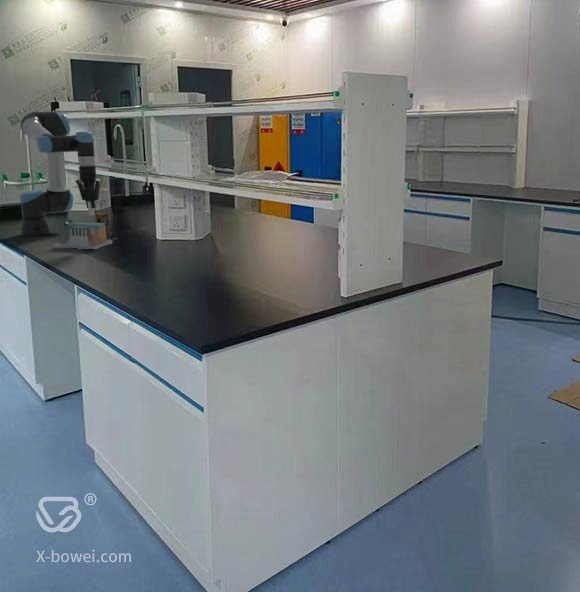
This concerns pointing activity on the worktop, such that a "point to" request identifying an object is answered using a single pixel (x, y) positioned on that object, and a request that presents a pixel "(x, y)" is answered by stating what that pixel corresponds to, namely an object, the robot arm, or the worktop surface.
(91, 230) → the heatsink base
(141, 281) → the worktop surface
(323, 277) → the worktop surface
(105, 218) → the multimeter
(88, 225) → the lever
